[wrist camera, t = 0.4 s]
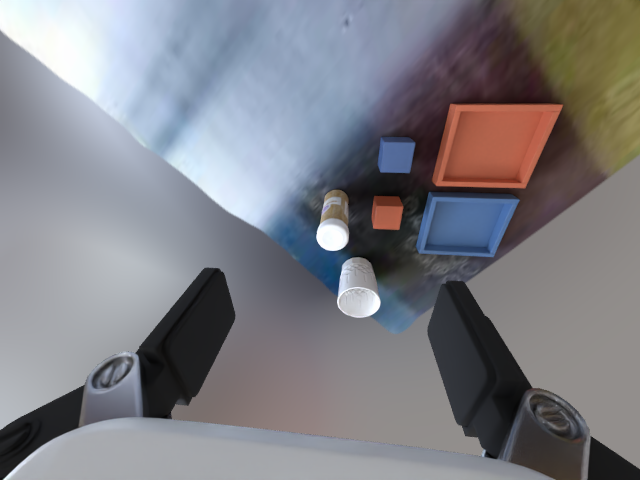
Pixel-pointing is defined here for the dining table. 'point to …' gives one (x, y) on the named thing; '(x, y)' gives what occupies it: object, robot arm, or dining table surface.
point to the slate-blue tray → (465, 223)
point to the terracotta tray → (493, 144)
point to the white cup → (358, 288)
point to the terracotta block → (387, 212)
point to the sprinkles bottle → (334, 221)
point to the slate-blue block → (396, 154)
